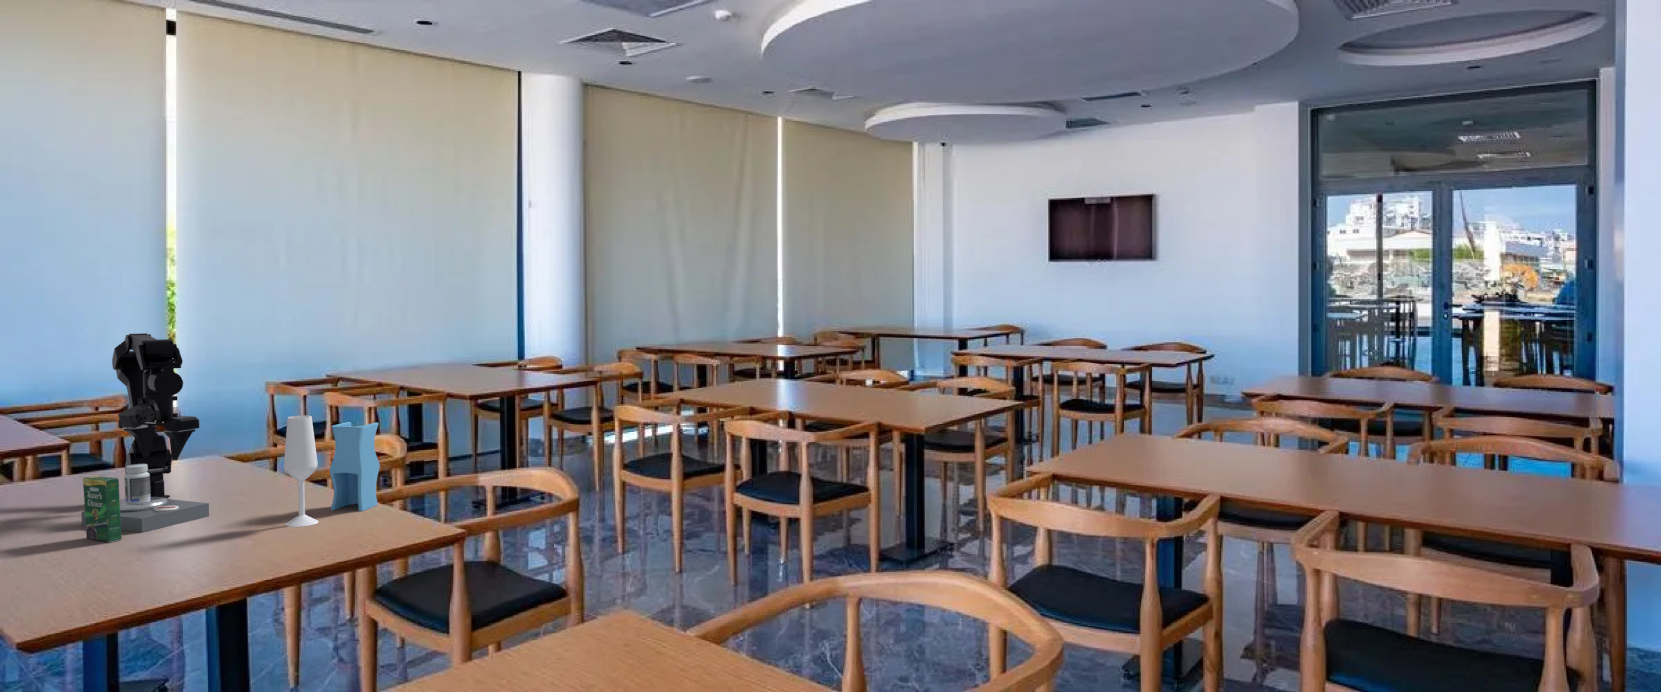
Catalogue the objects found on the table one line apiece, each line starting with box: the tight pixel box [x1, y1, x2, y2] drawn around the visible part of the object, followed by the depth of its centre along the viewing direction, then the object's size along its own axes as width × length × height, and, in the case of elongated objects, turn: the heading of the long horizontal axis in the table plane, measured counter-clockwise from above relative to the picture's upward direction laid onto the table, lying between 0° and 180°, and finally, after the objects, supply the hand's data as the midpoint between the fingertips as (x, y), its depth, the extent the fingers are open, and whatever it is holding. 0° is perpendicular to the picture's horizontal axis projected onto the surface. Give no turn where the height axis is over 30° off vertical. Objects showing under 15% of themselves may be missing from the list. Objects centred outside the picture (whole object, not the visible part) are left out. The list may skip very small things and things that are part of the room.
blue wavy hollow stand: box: [329, 421, 381, 512], centre depth 240 cm, size 8×8×20 cm
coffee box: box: [82, 475, 122, 543], centre depth 208 cm, size 8×3×13 cm, turn 66°
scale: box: [81, 498, 210, 533], centre depth 225 cm, size 18×16×4 cm
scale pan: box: [120, 497, 168, 512], centre depth 225 cm, size 11×11×1 cm
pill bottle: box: [123, 464, 151, 504], centre depth 225 cm, size 5×5×8 cm
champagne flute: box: [283, 415, 320, 528], centre depth 223 cm, size 7×7×24 cm
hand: (160, 458), depth 236 cm, fingers open, 9 cm apart
